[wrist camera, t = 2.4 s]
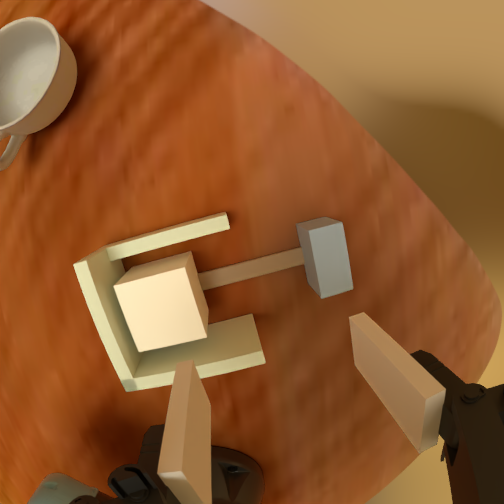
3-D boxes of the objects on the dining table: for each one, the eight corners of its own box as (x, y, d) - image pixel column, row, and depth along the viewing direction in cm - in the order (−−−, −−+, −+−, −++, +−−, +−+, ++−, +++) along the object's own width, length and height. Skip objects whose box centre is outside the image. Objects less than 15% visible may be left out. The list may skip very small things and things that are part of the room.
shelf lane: (142, 350, 31) (126, 391, 24) (105, 245, 29) (73, 264, 21) (255, 323, 32) (265, 362, 25) (225, 211, 29) (228, 220, 22)
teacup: (33, 39, 23) (-4, 13, 15) (108, 52, 25) (79, 19, 17) (-14, 155, 25) (-60, 153, 17) (54, 182, 27) (10, 184, 19)
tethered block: (151, 323, 31) (139, 352, 25) (131, 266, 30) (113, 285, 24) (336, 275, 32) (360, 294, 26) (325, 216, 30) (349, 224, 25)
